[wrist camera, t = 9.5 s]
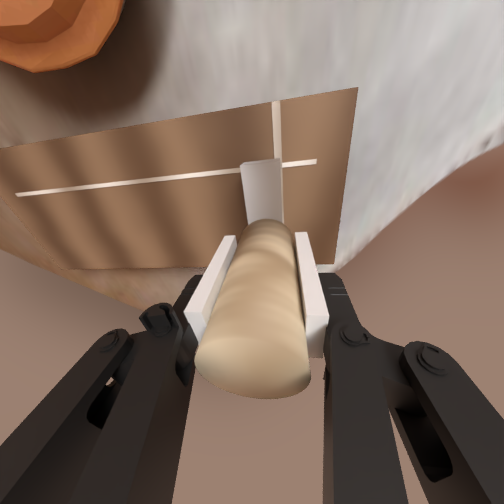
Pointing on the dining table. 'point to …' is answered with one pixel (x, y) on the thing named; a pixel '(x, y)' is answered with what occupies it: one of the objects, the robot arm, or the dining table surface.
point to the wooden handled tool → (258, 302)
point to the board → (181, 183)
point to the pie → (55, 31)
